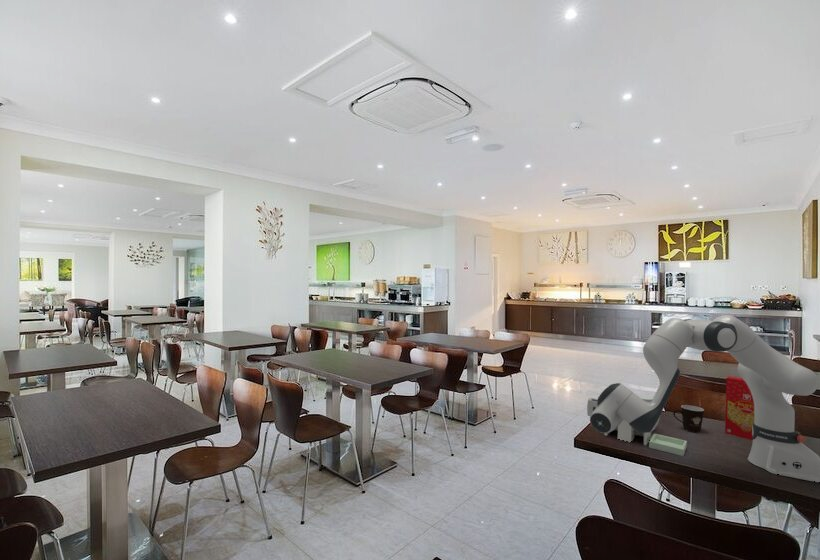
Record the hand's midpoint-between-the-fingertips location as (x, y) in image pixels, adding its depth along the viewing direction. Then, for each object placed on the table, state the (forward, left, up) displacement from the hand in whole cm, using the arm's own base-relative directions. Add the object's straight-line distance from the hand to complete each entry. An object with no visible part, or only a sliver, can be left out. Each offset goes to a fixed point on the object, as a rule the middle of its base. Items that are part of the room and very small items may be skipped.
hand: (619, 404), depth 162 cm
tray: (-15, -14, -17) cm, 27 cm away
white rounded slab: (-3, -32, -17) cm, 36 cm away
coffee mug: (-19, -45, -17) cm, 52 cm away
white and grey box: (0, -12, -17) cm, 21 cm away
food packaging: (-40, -52, -17) cm, 68 cm away
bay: (0, -15, -17) cm, 23 cm away
